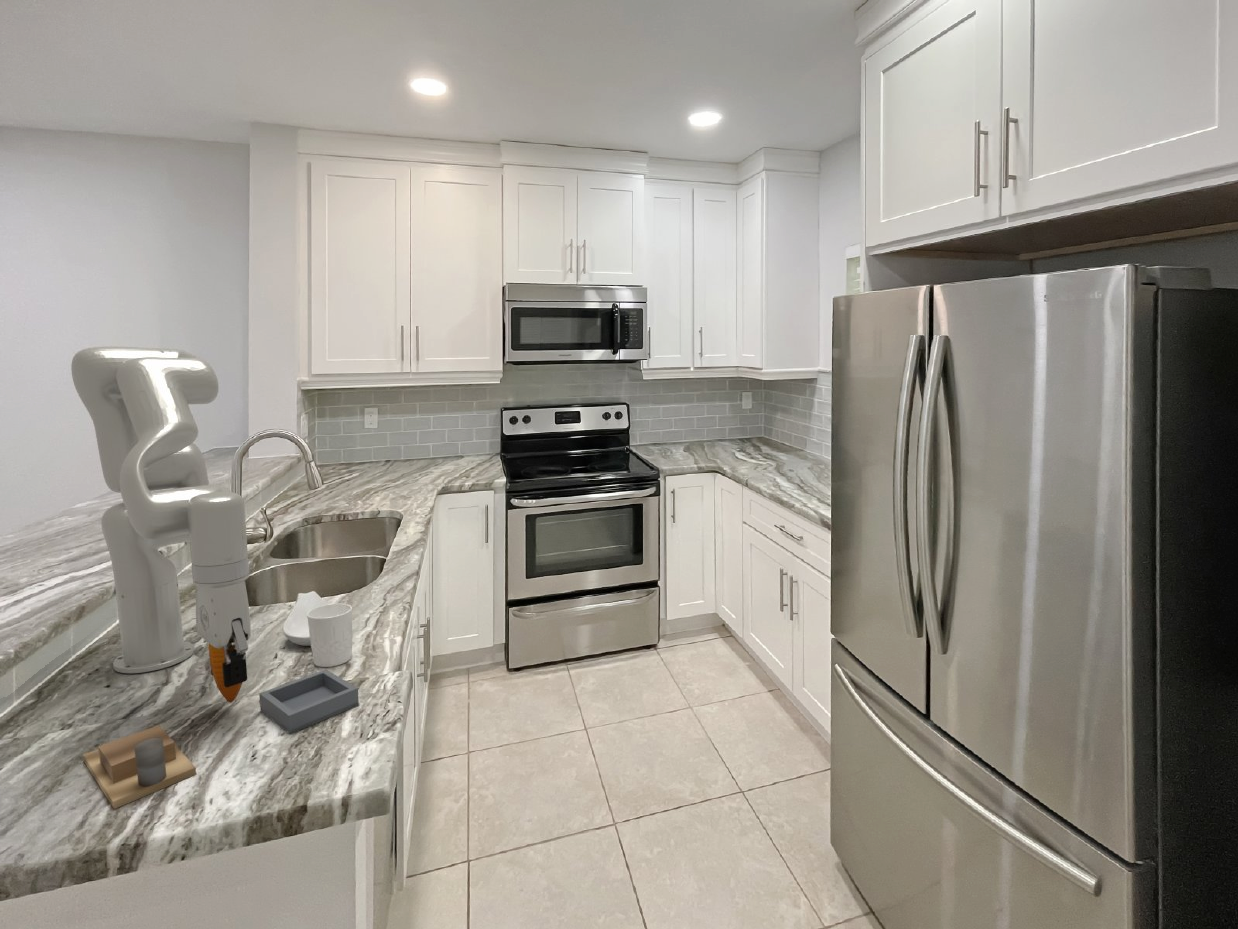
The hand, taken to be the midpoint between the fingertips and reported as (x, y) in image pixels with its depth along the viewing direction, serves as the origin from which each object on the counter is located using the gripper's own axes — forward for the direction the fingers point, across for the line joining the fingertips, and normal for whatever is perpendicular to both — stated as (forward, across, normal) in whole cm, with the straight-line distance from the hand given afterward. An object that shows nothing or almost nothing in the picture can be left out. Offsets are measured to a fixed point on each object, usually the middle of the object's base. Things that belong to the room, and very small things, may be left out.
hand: (229, 677), depth 100 cm
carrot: (+5, 0, 0) cm, 5 cm away
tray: (+6, +9, +9) cm, 14 cm away
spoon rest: (+7, -24, +24) cm, 34 cm away
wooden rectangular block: (+5, +6, -14) cm, 16 cm away
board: (+6, +6, -14) cm, 16 cm away
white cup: (+6, -6, +20) cm, 22 cm away
